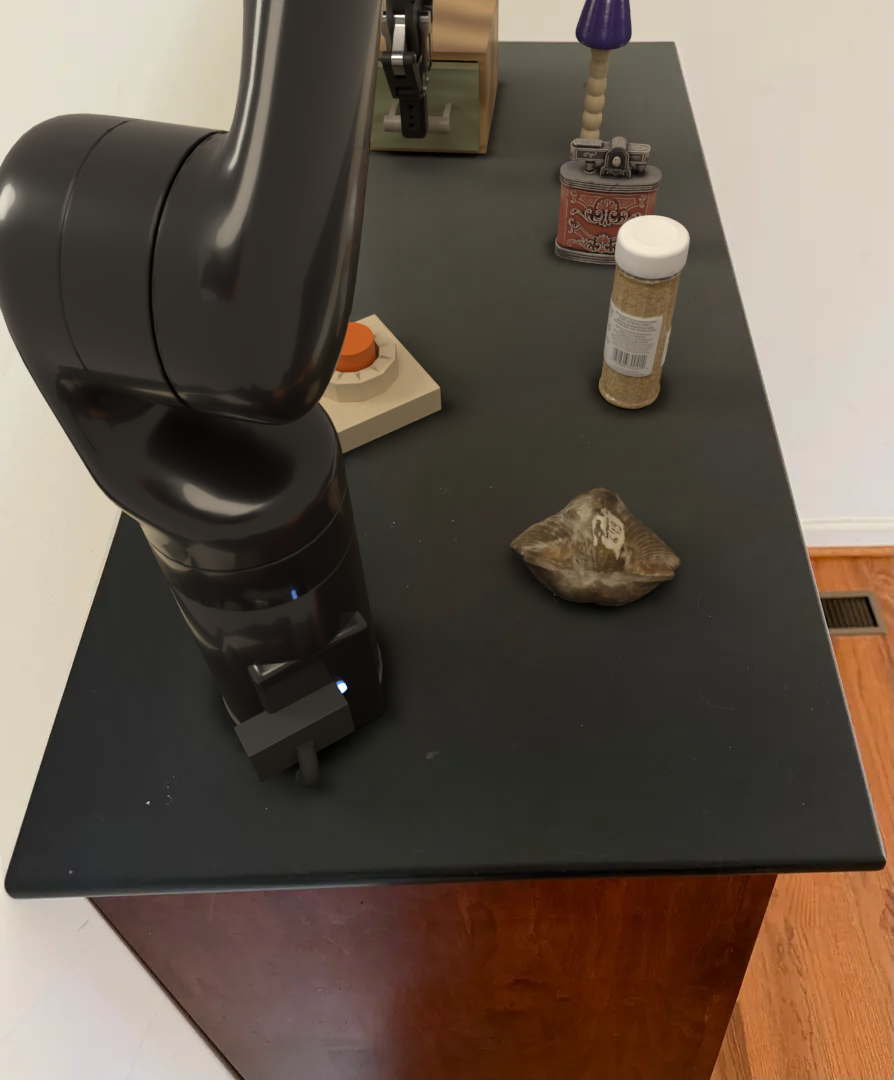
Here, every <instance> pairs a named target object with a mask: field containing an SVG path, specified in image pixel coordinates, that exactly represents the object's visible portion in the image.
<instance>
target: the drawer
mask: <svg viewBox="0 0 894 1080" xmlns="http://www.w3.org/2000/svg"><path fill="white" fill-rule="evenodd" d="M428 77H429V78H430V83H429V84H428V88H427V108H428V130H427V133H426V136H425V137H424V138H423V139H414V138H405V137H404V136H403V135H402V130H401V116H400V103H399V99H393V98H392V94H391V91H390V88H389V85H388V82H387V79H386V76H385V73H384V70H383V66H382V63H381V59H379V60H378V71H377V81H376V92H375V102H374V113H373V123H372V133H371V139H372V147H373V148H393V149H425V150H456V151H479V146H480V107H479V63H477V61H459V60H432V67H431V70H430V71H428Z"/></svg>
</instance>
